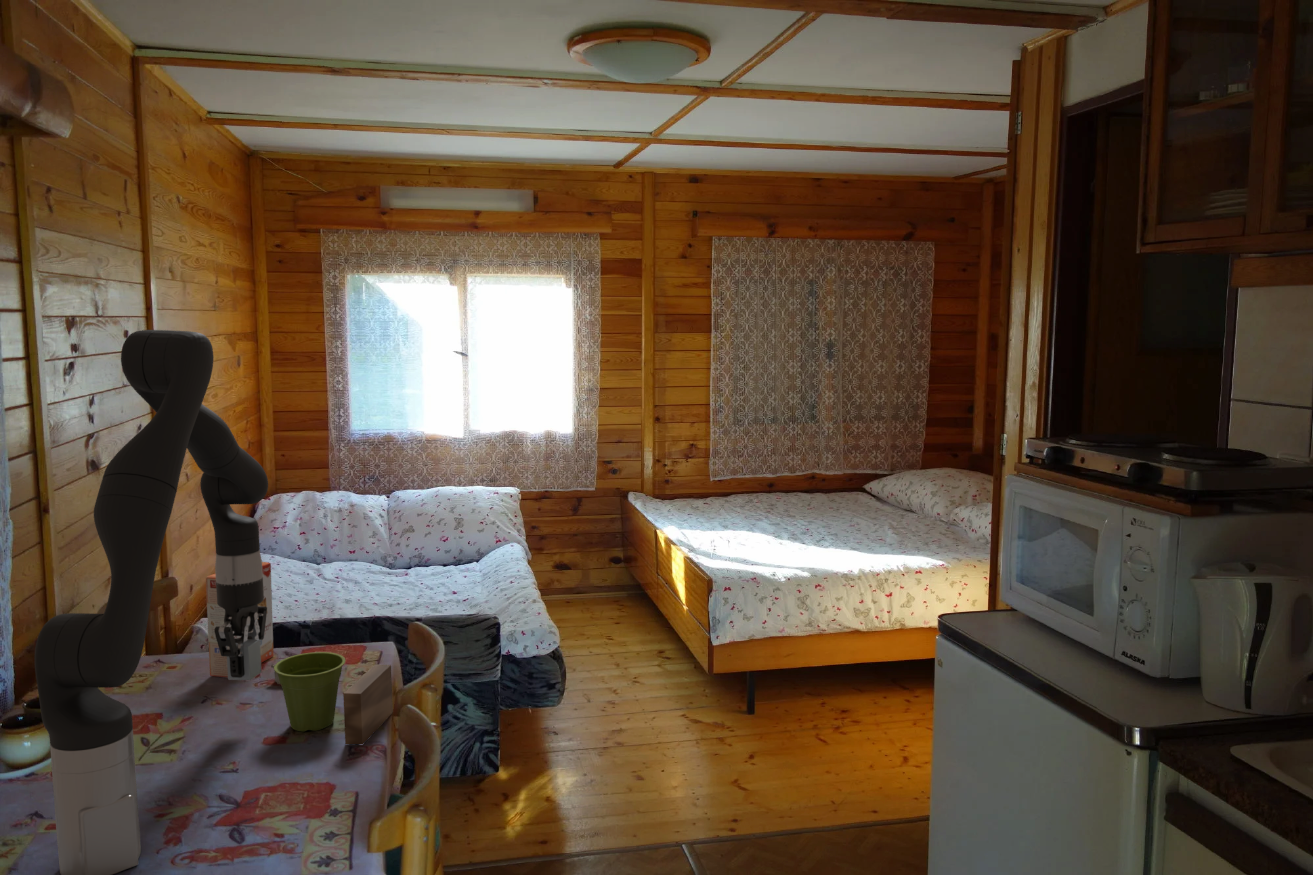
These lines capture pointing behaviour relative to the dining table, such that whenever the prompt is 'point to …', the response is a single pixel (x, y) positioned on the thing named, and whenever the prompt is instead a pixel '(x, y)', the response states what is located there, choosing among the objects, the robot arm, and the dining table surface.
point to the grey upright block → (249, 660)
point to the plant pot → (310, 688)
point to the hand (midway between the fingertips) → (244, 671)
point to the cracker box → (217, 620)
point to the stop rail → (367, 704)
